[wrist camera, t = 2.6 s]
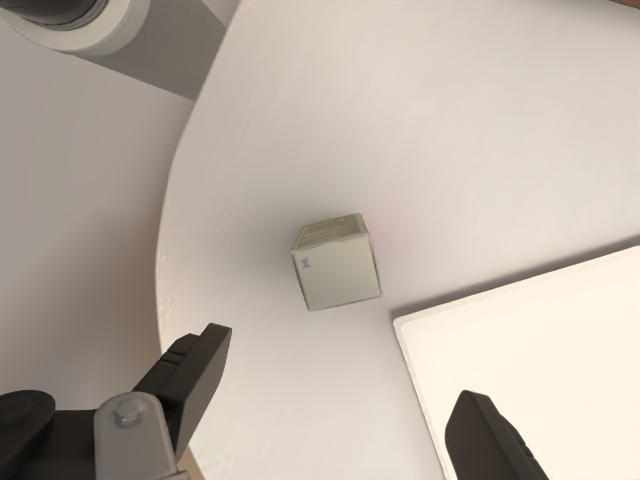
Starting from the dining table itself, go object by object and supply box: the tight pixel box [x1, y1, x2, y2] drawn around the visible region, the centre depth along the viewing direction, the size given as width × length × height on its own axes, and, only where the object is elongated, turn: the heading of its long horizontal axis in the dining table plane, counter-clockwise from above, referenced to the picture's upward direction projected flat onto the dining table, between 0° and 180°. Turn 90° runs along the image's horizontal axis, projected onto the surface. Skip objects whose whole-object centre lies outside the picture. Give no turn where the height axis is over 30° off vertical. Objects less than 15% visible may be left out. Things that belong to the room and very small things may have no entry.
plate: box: [393, 245, 640, 480], centre depth 30 cm, size 26×26×2 cm
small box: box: [291, 214, 382, 312], centre depth 25 cm, size 5×4×8 cm
